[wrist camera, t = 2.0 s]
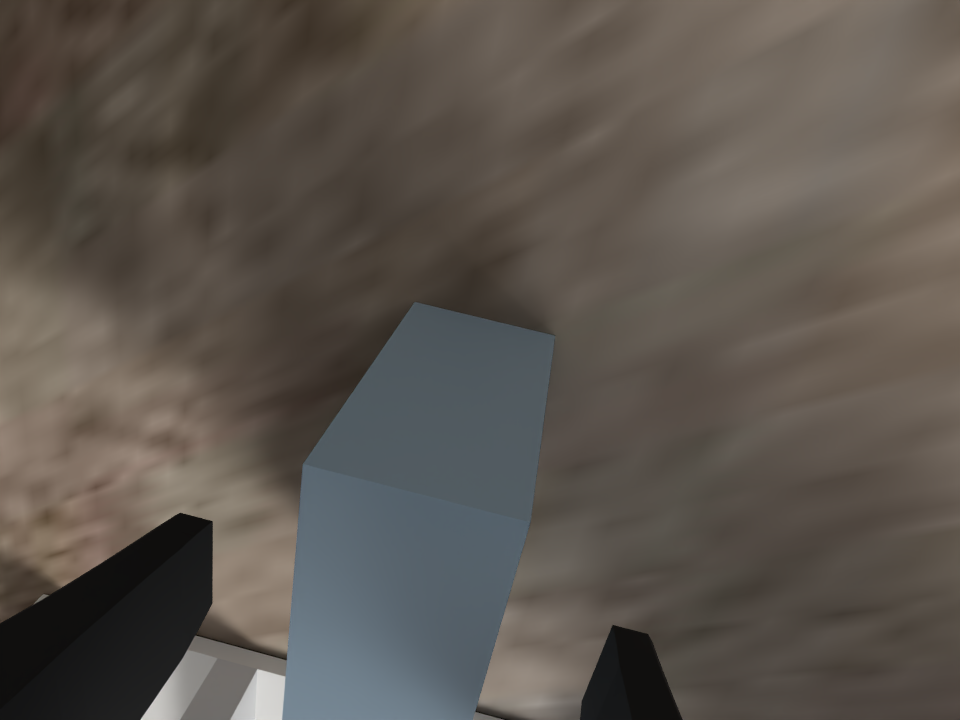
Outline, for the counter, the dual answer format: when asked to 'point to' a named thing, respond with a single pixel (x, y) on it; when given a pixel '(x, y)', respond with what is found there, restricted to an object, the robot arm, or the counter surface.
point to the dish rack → (225, 685)
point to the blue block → (416, 522)
